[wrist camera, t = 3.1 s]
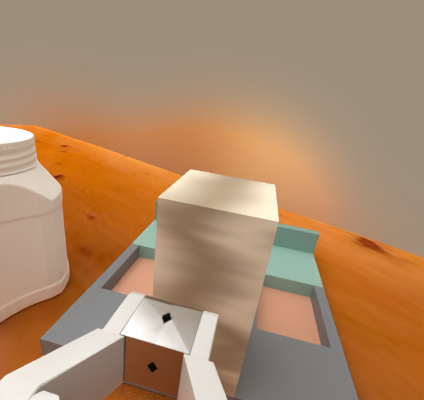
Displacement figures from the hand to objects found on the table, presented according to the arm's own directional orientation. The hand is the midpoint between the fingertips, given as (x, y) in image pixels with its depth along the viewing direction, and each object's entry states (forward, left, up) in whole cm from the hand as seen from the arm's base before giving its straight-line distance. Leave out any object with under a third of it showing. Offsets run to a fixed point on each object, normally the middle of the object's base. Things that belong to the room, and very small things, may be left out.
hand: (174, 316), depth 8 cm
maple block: (0, -8, -11) cm, 14 cm away
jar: (+20, -10, -13) cm, 26 cm away
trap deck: (0, -16, -13) cm, 21 cm away
